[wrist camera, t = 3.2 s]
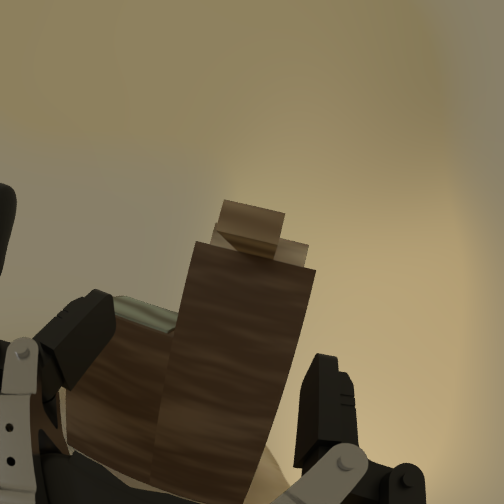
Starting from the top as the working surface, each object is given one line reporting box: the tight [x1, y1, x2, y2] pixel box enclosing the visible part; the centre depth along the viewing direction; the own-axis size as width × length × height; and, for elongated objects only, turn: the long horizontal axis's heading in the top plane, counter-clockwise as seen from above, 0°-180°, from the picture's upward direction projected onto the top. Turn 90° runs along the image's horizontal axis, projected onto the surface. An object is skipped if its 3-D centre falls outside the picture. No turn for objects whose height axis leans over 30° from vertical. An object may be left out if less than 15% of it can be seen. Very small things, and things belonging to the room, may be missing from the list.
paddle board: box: [210, 200, 309, 267], centre depth 28 cm, size 24×10×2 cm, turn 177°
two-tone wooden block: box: [66, 241, 316, 504], centre depth 34 cm, size 14×25×32 cm, turn 87°
